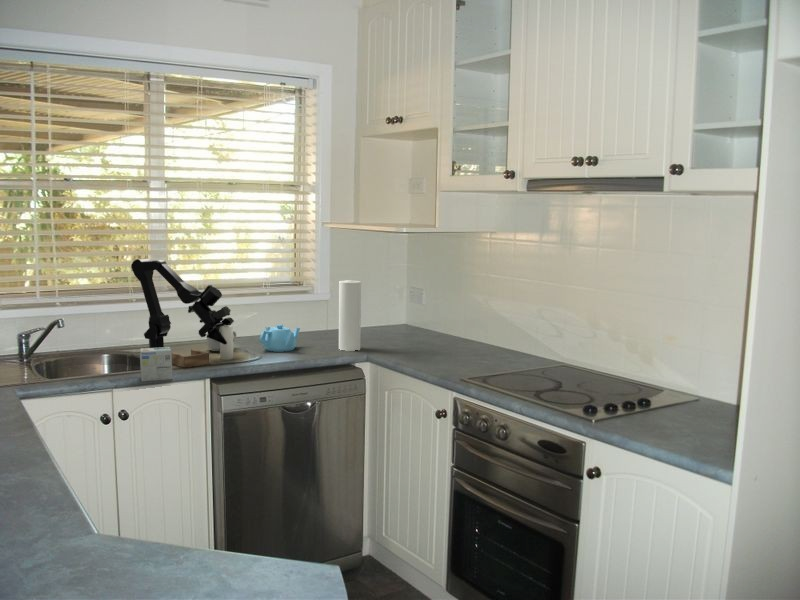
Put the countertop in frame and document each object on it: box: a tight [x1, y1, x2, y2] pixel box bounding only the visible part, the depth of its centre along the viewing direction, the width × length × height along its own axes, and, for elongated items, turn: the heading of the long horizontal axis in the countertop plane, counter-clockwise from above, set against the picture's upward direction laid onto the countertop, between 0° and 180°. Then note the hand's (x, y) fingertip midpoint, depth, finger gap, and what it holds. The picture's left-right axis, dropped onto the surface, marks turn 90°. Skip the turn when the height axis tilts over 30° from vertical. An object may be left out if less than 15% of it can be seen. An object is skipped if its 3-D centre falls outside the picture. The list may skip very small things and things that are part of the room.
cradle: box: [171, 348, 210, 368], centre depth 297 cm, size 12×10×4 cm
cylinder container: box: [338, 279, 362, 352], centre depth 330 cm, size 9×9×30 cm
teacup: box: [206, 330, 237, 352], centre depth 325 cm, size 14×11×8 cm
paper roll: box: [219, 325, 234, 361], centre depth 307 cm, size 5×5×13 cm
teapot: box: [258, 324, 301, 353], centre depth 328 cm, size 15×15×11 cm
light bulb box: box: [139, 346, 173, 382], centre depth 271 cm, size 11×7×11 cm, turn 111°
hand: (229, 342), depth 307 cm, fingers closed on paper roll, 5 cm apart
